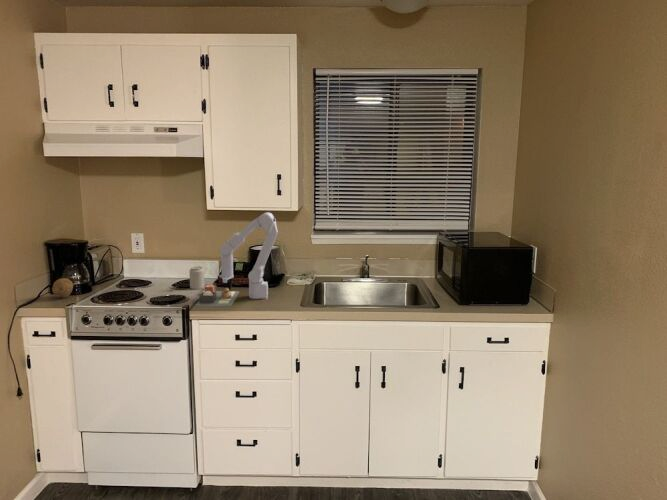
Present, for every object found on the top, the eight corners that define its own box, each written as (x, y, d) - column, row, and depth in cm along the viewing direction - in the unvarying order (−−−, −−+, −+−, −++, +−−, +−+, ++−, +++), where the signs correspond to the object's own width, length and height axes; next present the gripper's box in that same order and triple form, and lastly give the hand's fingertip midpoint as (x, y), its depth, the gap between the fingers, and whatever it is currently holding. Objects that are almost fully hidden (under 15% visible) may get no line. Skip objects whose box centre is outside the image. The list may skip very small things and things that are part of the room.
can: (190, 291, 248) (190, 269, 246) (189, 287, 255) (188, 266, 253) (205, 290, 251) (204, 268, 249) (203, 286, 258) (202, 265, 256)
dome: (214, 299, 230) (214, 289, 229) (212, 302, 225) (211, 292, 224) (204, 299, 230) (203, 289, 229) (201, 302, 225) (201, 292, 224)
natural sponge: (60, 301, 226) (59, 281, 224) (48, 299, 229) (46, 279, 227) (77, 296, 234) (76, 277, 232) (66, 294, 237) (64, 275, 236)
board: (239, 293, 246) (239, 284, 245) (231, 307, 221) (230, 298, 220) (207, 292, 245) (206, 284, 245) (194, 307, 220) (194, 298, 219)
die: (214, 292, 242) (214, 284, 242) (212, 294, 239) (212, 286, 238) (206, 292, 242) (206, 284, 241) (204, 294, 238) (204, 286, 238)
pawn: (232, 296, 236) (232, 286, 235) (230, 299, 231) (230, 289, 230) (222, 296, 236) (222, 286, 235) (220, 299, 231) (220, 288, 230)
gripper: (222, 264, 241) (222, 289, 244) (216, 270, 227) (216, 297, 229) (235, 264, 241) (236, 289, 244) (230, 270, 227) (231, 297, 230)
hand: (227, 293), depth 237 cm, fingers closed
